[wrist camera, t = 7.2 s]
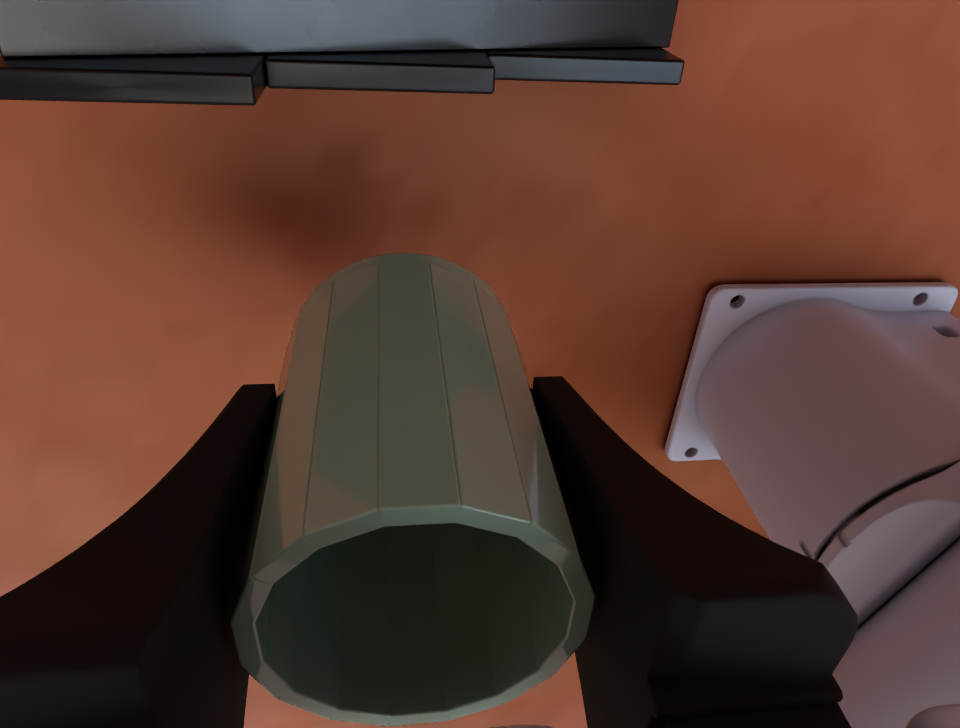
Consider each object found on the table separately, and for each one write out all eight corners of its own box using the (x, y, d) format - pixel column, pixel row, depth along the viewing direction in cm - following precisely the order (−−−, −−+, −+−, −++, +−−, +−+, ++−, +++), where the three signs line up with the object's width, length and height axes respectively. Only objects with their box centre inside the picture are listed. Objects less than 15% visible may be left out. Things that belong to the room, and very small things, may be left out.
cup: (505, 433, 18) (569, 710, 12) (301, 441, 17) (258, 739, 11) (523, 251, 15) (621, 496, 9) (277, 251, 14) (202, 518, 8)
